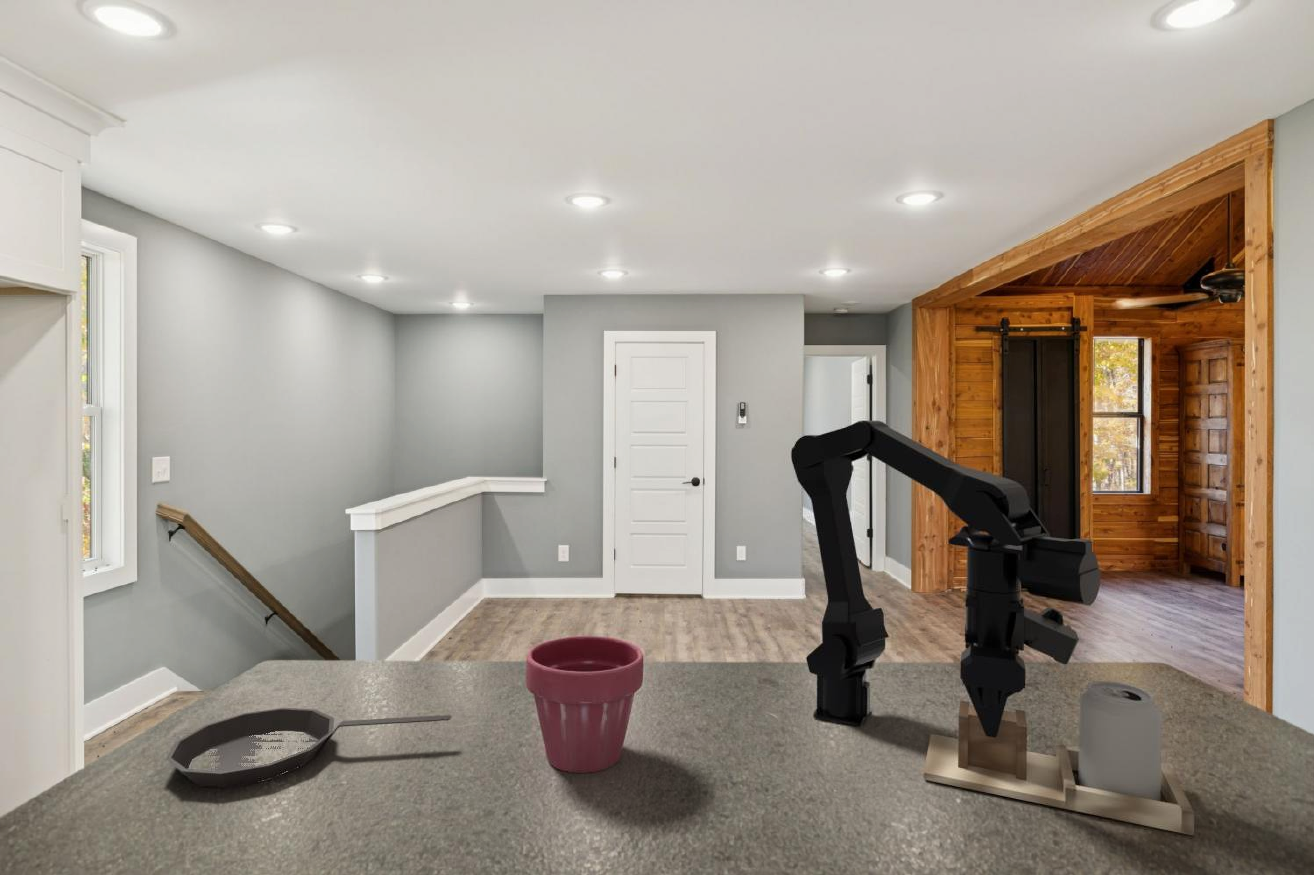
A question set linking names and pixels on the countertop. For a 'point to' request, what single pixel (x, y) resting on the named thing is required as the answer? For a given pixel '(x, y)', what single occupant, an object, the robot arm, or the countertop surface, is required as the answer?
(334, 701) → the countertop surface
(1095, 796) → the wooden divided tray
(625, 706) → the plant pot
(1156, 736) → the can
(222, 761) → the frying pan
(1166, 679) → the countertop surface
